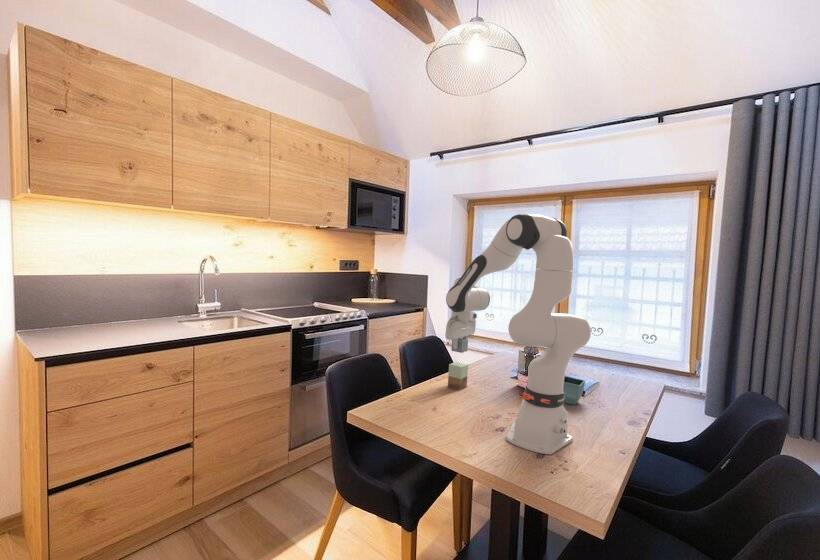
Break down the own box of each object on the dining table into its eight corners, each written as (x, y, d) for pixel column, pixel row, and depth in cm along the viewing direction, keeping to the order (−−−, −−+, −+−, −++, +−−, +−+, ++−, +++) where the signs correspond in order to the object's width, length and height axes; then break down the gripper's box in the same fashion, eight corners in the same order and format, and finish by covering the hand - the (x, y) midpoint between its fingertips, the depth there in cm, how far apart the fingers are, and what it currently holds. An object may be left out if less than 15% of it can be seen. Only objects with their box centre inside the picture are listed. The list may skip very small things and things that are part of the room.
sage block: (460, 379, 159) (461, 367, 159) (448, 375, 163) (449, 364, 162) (467, 375, 164) (468, 364, 164) (455, 372, 167) (455, 361, 167)
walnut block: (460, 390, 159) (460, 379, 159) (447, 387, 163) (448, 375, 163) (466, 387, 164) (467, 375, 164) (454, 384, 168) (455, 372, 167)
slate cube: (461, 352, 159) (462, 341, 159) (451, 350, 162) (452, 339, 162) (467, 350, 163) (467, 339, 163) (457, 348, 166) (457, 337, 166)
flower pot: (578, 408, 146) (580, 385, 146) (555, 402, 151) (556, 380, 151) (583, 402, 153) (585, 380, 153) (561, 396, 158) (562, 375, 158)
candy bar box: (542, 392, 162) (544, 354, 161) (532, 393, 160) (535, 355, 159) (524, 384, 172) (527, 348, 171) (515, 385, 170) (518, 349, 169)
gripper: (456, 318, 152) (454, 352, 152) (478, 314, 168) (476, 344, 169) (442, 316, 155) (440, 349, 156) (466, 312, 172) (464, 342, 173)
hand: (459, 347), depth 163 cm, fingers closed on slate cube, 5 cm apart
